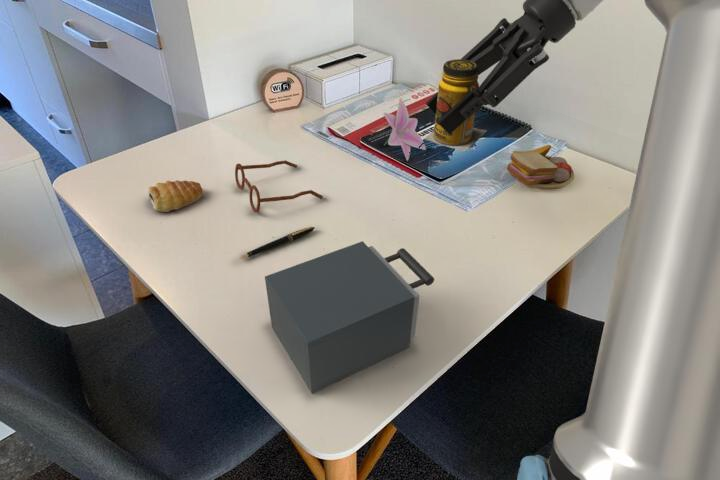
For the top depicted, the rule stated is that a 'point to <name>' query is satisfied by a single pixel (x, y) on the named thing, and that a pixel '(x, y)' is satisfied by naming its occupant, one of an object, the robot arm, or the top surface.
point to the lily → (403, 130)
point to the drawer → (416, 268)
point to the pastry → (174, 194)
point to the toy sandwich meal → (540, 169)
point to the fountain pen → (279, 241)
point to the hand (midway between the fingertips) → (437, 118)
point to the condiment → (451, 90)
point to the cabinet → (339, 314)
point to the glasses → (244, 180)
